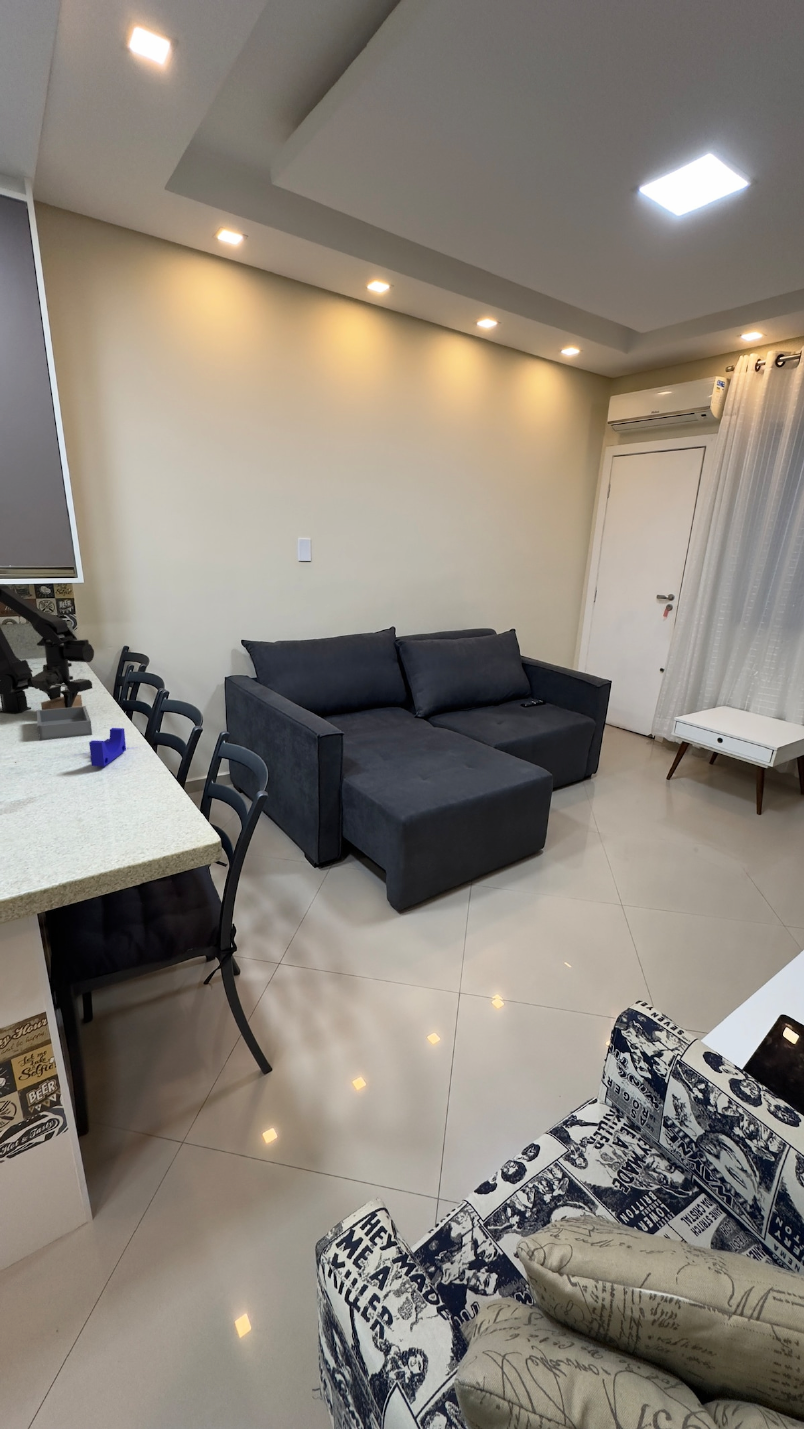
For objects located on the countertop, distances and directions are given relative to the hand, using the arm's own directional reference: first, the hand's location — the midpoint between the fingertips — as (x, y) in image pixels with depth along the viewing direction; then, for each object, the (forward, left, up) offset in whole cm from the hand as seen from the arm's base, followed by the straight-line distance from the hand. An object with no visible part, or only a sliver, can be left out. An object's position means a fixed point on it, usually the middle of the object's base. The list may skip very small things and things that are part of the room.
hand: (63, 710), depth 181 cm
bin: (+12, -12, -1) cm, 17 cm away
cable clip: (+38, -28, -2) cm, 47 cm away
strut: (0, 0, -1) cm, 1 cm away
